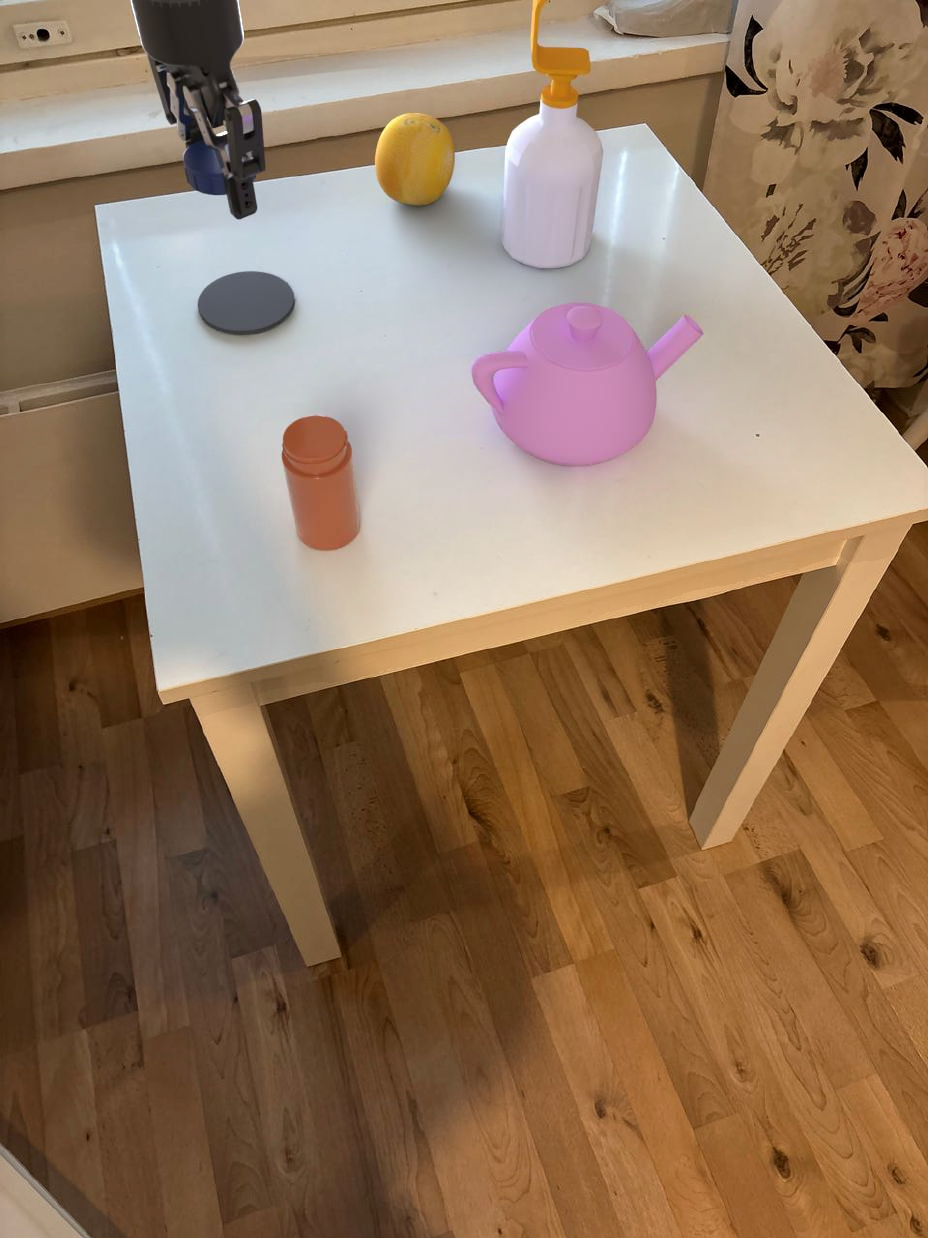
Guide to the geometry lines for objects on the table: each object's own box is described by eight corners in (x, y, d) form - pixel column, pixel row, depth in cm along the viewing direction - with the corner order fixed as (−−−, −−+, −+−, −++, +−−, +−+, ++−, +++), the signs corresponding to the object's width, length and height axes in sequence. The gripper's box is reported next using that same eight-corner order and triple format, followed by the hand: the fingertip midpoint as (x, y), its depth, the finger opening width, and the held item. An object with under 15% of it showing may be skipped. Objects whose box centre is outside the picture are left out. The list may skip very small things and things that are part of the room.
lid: (255, 156, 81) (251, 134, 80) (256, 192, 78) (252, 170, 77) (188, 161, 81) (183, 138, 79) (187, 197, 78) (181, 175, 76)
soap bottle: (593, 271, 94) (633, -6, 73) (501, 269, 94) (515, -9, 73) (587, 219, 99) (624, -54, 79) (500, 217, 99) (514, -56, 79)
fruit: (453, 221, 98) (453, 145, 92) (375, 219, 98) (369, 143, 92) (455, 174, 103) (455, 99, 97) (381, 172, 103) (376, 97, 97)
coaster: (198, 339, 87) (196, 334, 86) (199, 279, 92) (198, 274, 92) (296, 330, 88) (296, 326, 87) (292, 271, 93) (292, 267, 92)
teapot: (720, 445, 80) (753, 342, 71) (498, 500, 76) (504, 399, 67) (649, 343, 87) (672, 239, 79) (443, 389, 83) (443, 285, 75)
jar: (299, 555, 73) (281, 466, 65) (292, 507, 75) (274, 416, 68) (364, 545, 73) (354, 456, 65) (355, 498, 76) (344, 407, 68)
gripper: (279, -4, 65) (309, 221, 79) (177, -72, 72) (221, 147, 86) (182, 27, 63) (230, 254, 76) (85, -47, 69) (146, 175, 83)
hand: (225, 196), depth 81 cm, fingers closed on lid, 5 cm apart
